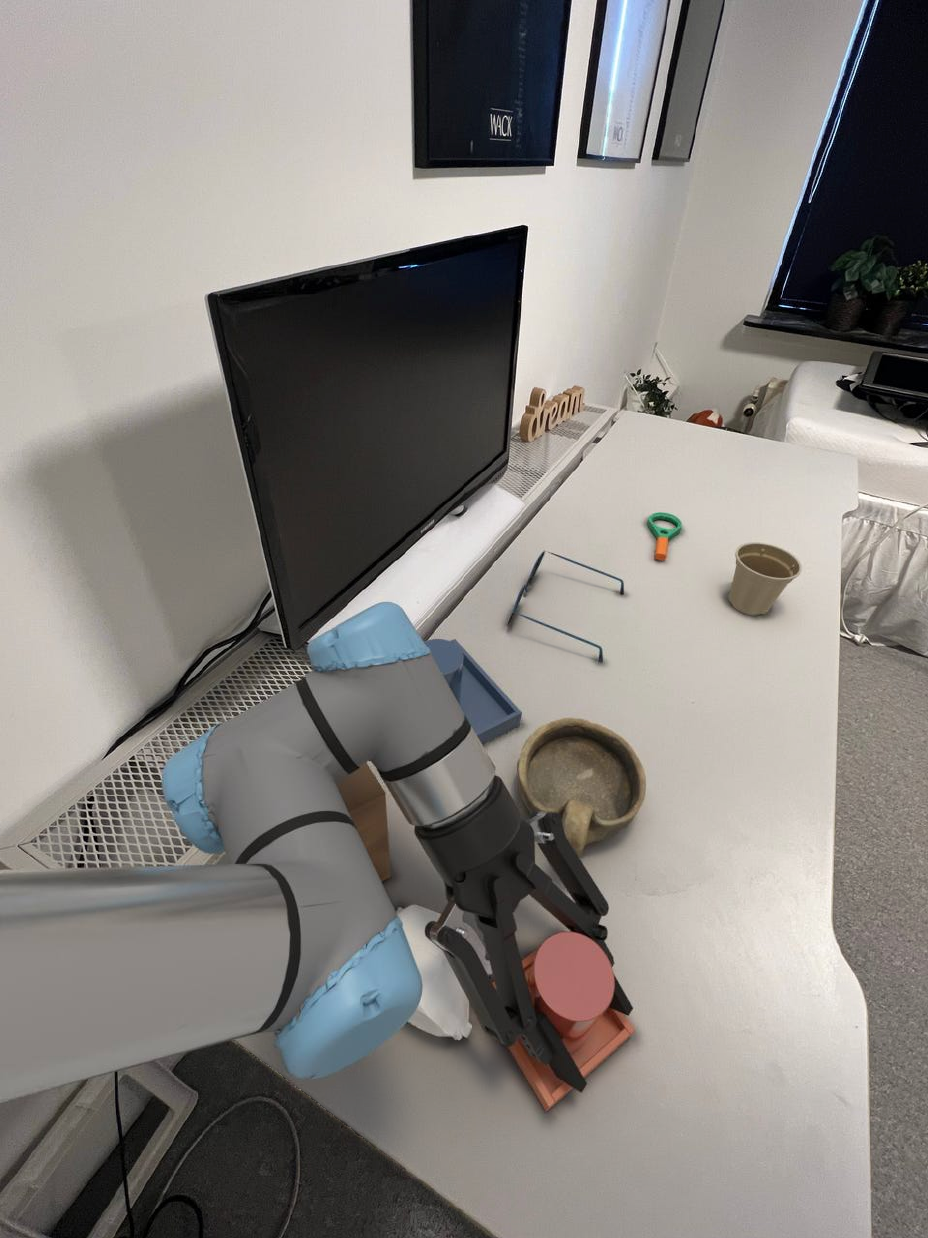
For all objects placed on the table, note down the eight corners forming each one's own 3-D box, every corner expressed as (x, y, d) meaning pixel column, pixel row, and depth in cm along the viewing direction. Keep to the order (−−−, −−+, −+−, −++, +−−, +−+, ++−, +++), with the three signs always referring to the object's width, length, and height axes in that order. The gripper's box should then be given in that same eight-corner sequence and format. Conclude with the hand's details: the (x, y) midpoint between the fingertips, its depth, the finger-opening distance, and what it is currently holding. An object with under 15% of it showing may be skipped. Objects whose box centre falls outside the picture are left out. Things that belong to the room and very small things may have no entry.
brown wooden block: (273, 946, 54) (240, 868, 44) (231, 840, 61) (195, 752, 51) (391, 876, 59) (385, 792, 49) (340, 786, 66) (326, 697, 56)
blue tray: (413, 780, 67) (413, 767, 66) (355, 693, 76) (353, 680, 75) (520, 725, 74) (522, 712, 72) (454, 651, 83) (454, 638, 82)
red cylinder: (550, 1073, 47) (570, 1041, 41) (505, 999, 50) (517, 960, 44) (605, 1025, 49) (631, 988, 43) (559, 958, 53) (577, 916, 47)
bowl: (641, 767, 70) (664, 713, 64) (621, 911, 58) (647, 862, 51) (528, 734, 73) (539, 678, 66) (486, 863, 60) (494, 811, 54)
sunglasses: (535, 569, 99) (543, 545, 95) (619, 602, 96) (631, 579, 93) (502, 633, 86) (510, 608, 83) (597, 672, 84) (609, 649, 81)
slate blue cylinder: (428, 732, 72) (428, 682, 66) (403, 700, 75) (402, 649, 69) (469, 713, 74) (473, 662, 68) (443, 682, 78) (446, 632, 72)
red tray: (546, 1112, 46) (549, 1107, 45) (478, 997, 51) (480, 991, 50) (630, 1035, 50) (635, 1030, 49) (559, 937, 55) (562, 930, 54)
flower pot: (722, 618, 92) (743, 574, 86) (712, 582, 99) (730, 538, 93) (785, 627, 91) (810, 582, 85) (770, 589, 98) (792, 546, 92)
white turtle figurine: (474, 960, 56) (343, 871, 56) (514, 943, 50) (367, 843, 50) (434, 1060, 50) (288, 960, 50) (474, 1054, 44) (308, 941, 44)
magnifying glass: (649, 514, 114) (651, 507, 113) (681, 521, 113) (683, 513, 112) (641, 557, 103) (643, 549, 102) (676, 565, 102) (679, 557, 101)
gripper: (504, 728, 52) (621, 938, 55) (332, 882, 41) (489, 1133, 44) (563, 724, 46) (691, 960, 49) (380, 902, 35) (558, 1192, 38)
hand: (595, 1041), depth 47 cm, fingers closed on red cylinder, 6 cm apart
